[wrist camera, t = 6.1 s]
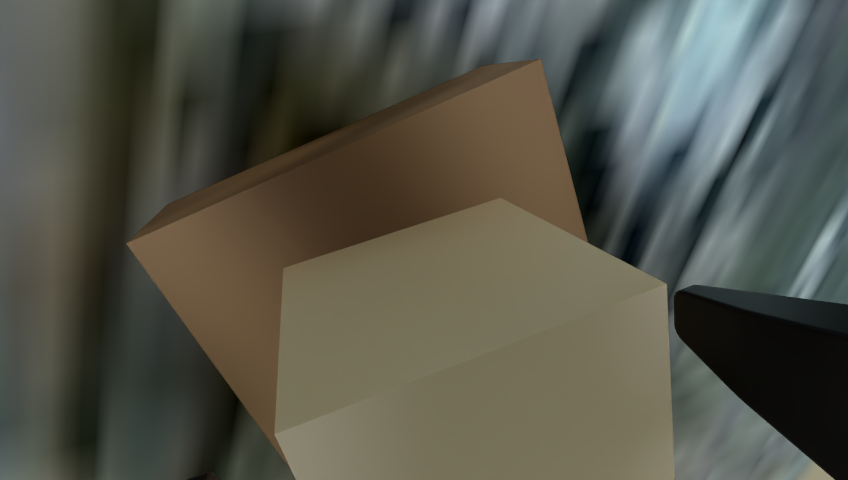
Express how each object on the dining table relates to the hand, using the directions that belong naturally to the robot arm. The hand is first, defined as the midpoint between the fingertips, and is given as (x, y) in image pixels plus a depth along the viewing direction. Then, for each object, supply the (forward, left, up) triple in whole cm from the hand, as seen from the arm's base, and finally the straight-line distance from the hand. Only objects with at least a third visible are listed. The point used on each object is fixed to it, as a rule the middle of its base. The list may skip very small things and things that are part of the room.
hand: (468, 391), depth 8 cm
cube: (0, 0, -3) cm, 3 cm away
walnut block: (0, 0, -6) cm, 6 cm away
